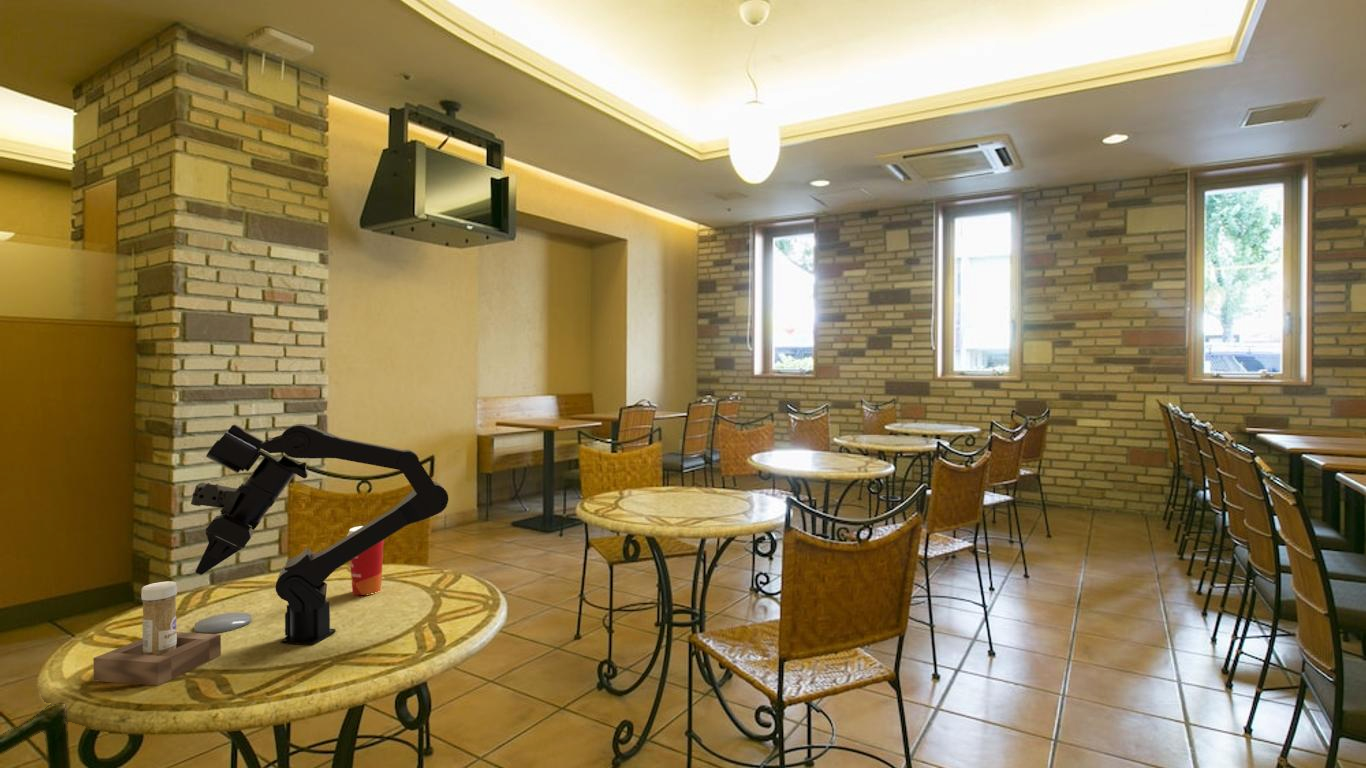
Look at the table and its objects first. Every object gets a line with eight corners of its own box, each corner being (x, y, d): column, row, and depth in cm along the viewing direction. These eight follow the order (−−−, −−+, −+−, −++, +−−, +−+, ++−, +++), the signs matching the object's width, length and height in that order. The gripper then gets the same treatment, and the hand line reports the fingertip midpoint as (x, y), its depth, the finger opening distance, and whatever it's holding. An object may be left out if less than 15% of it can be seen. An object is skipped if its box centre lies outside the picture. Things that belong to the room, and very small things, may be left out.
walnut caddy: (220, 655, 114) (220, 634, 114) (158, 685, 103) (158, 662, 103) (161, 651, 116) (161, 630, 116) (93, 680, 105) (93, 658, 105)
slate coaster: (262, 617, 133) (262, 613, 133) (225, 634, 124) (225, 630, 124) (222, 615, 134) (222, 611, 134) (181, 632, 125) (181, 627, 125)
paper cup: (350, 588, 151) (350, 525, 151) (387, 585, 154) (387, 523, 154) (344, 599, 144) (343, 533, 144) (383, 595, 146) (383, 530, 146)
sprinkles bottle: (176, 669, 109) (175, 585, 109) (140, 676, 107) (139, 590, 106) (178, 659, 113) (177, 578, 113) (143, 665, 110) (143, 583, 110)
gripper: (226, 457, 124) (167, 533, 120) (208, 469, 108) (139, 557, 104) (284, 488, 129) (229, 562, 125) (276, 504, 112) (212, 589, 108)
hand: (203, 566), depth 115 cm, fingers open, 9 cm apart
